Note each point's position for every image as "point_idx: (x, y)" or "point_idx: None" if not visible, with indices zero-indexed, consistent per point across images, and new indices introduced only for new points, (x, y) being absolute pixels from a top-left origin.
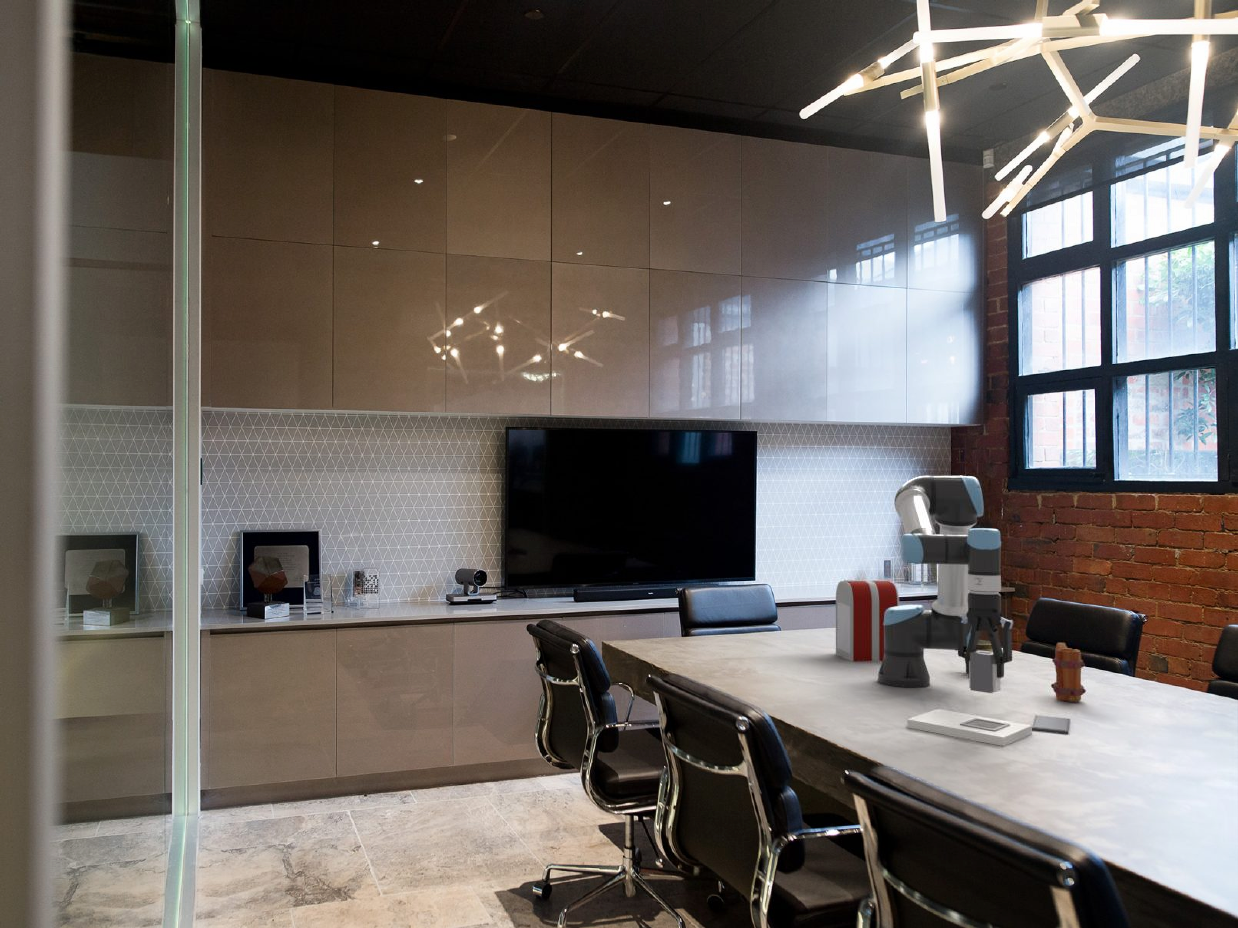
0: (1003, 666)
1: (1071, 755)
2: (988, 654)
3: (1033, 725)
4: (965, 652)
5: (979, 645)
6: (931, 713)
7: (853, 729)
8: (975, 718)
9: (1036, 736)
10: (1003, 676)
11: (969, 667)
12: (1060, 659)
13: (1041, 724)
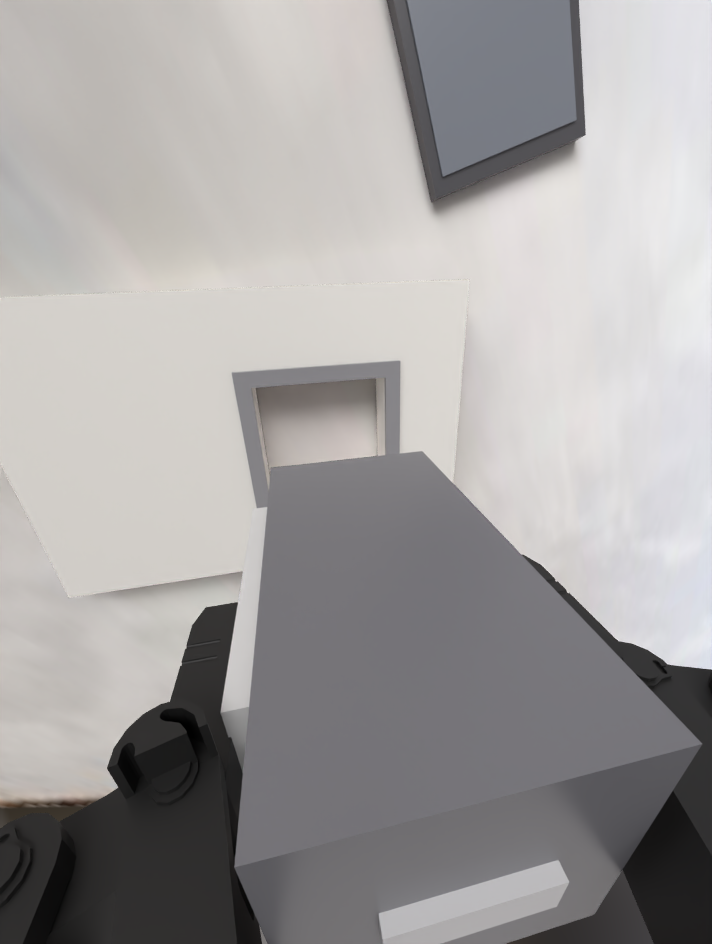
0: (600, 636)
1: (608, 462)
2: (562, 913)
3: (425, 130)
4: (80, 937)
5: None
6: (18, 436)
7: (23, 712)
8: (238, 383)
9: (478, 311)
10: (529, 560)
11: None
12: None
13: (452, 66)
